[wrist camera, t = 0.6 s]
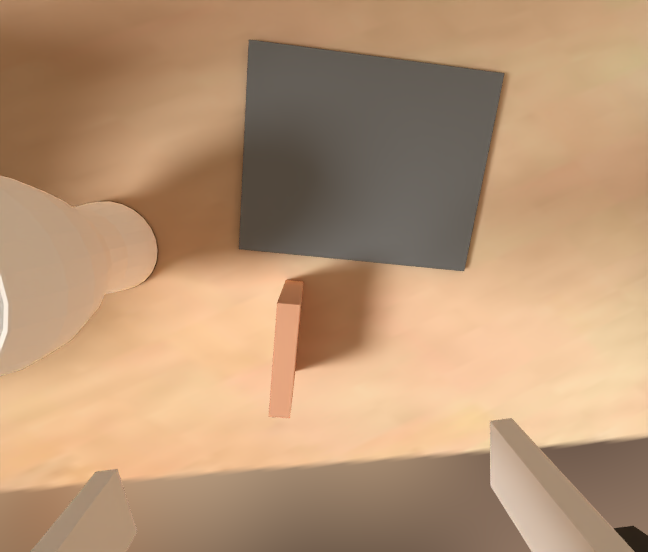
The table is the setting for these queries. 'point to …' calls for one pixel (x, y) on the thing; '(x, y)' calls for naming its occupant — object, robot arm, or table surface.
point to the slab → (285, 348)
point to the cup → (61, 267)
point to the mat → (363, 155)
